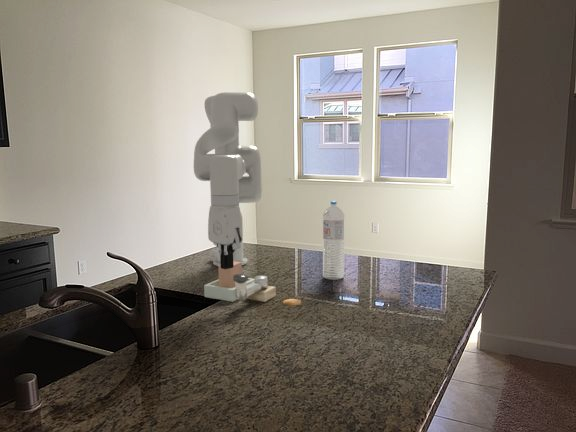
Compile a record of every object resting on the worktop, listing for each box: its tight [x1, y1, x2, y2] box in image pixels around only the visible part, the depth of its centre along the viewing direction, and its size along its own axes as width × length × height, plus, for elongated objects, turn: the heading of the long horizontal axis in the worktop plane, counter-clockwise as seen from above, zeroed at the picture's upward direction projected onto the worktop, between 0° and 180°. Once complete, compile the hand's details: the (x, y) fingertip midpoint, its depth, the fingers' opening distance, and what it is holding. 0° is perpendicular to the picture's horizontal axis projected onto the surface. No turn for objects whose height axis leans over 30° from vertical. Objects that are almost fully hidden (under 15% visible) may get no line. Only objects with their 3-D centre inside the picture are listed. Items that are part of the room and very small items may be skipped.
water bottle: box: [322, 200, 345, 281], centre depth 158 cm, size 7×7×25 cm
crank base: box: [246, 285, 302, 307], centre depth 138 cm, size 16×6×3 cm, turn 61°
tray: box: [203, 277, 255, 303], centre depth 144 cm, size 10×12×4 cm
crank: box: [233, 273, 269, 300], centre depth 135 cm, size 14×4×6 cm, turn 151°
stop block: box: [217, 261, 243, 289], centre depth 144 cm, size 4×6×8 cm, turn 151°
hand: (227, 267), depth 134 cm, fingers closed
